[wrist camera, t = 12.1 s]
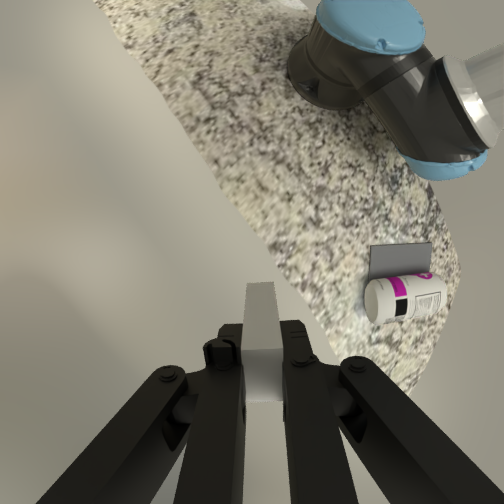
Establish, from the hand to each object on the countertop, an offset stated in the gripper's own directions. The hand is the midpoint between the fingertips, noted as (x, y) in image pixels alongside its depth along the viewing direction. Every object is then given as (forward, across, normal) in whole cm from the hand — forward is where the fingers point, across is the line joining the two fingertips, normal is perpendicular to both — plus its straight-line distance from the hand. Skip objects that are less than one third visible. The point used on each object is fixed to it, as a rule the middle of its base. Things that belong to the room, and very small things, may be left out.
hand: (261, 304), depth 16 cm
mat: (+32, +27, -12) cm, 44 cm away
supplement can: (+28, +19, -15) cm, 37 cm away
